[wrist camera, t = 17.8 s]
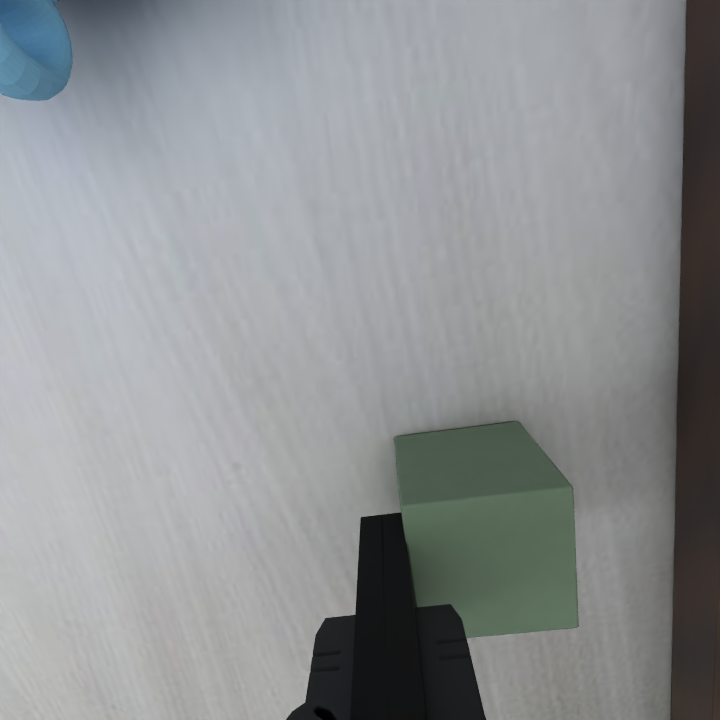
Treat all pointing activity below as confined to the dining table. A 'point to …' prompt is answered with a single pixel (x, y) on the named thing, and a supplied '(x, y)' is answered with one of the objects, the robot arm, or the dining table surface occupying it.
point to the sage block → (489, 528)
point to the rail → (699, 383)
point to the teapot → (33, 50)
